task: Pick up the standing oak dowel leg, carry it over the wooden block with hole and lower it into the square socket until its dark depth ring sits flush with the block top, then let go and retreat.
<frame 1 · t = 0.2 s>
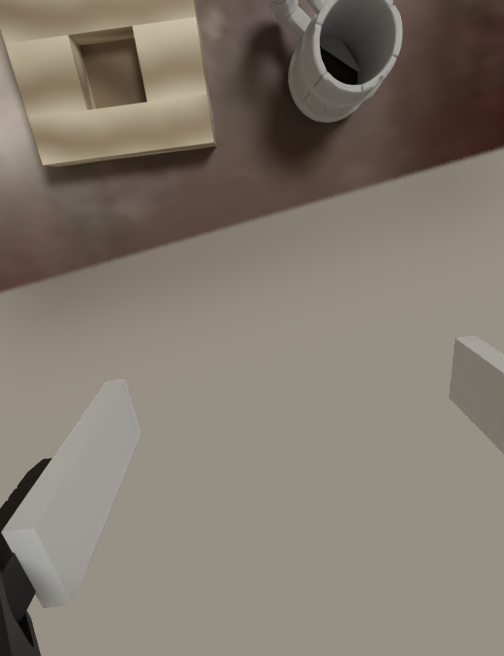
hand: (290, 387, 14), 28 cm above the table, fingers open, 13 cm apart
wooden block with hole: (121, 80, 33), on the table
mug: (311, 61, 33), on the table
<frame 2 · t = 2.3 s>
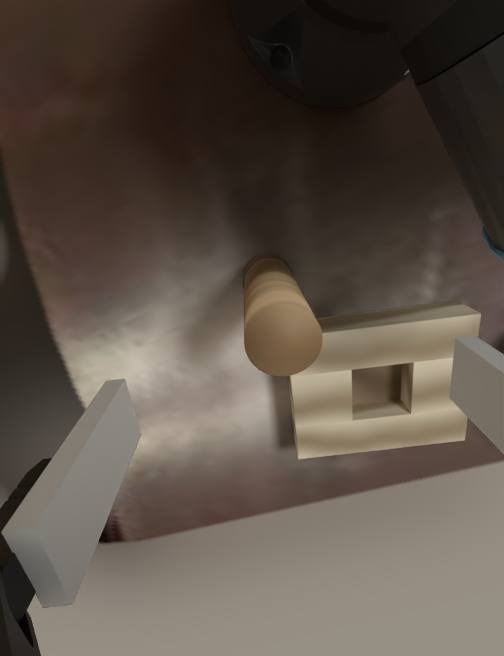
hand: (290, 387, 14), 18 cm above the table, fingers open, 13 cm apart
wooden block with hole: (369, 373, 35), on the table
leg: (266, 276, 31), on the table
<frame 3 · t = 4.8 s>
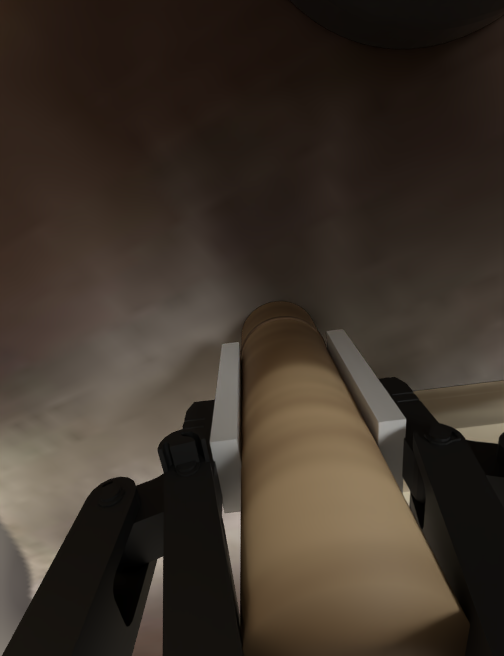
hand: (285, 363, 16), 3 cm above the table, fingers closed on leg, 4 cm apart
wooden block with hole: (432, 473, 23), on the table
leg: (278, 336, 19), on the table, touching gripper
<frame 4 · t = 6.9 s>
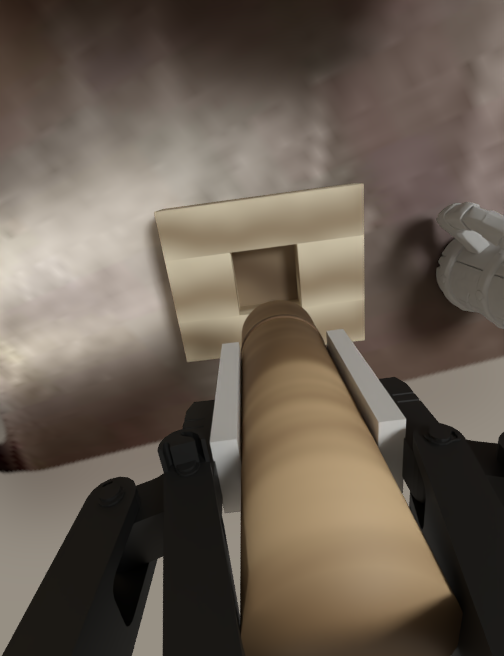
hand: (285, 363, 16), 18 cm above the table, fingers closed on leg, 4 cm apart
wooden block with hole: (264, 271, 33), on the table
mug: (460, 250, 32), on the table
leg: (278, 335, 19), point 14 cm above the table, touching gripper
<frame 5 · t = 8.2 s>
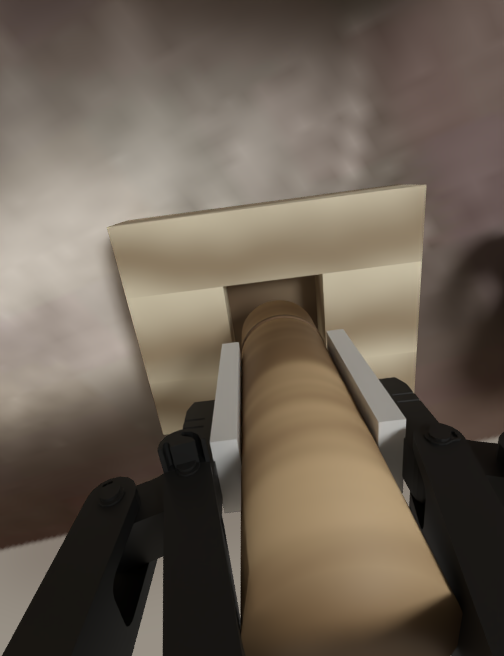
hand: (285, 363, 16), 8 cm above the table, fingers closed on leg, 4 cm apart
wooden block with hole: (272, 306, 23), on the table
leg: (278, 335, 19), point 4 cm above the table, touching gripper
when the fingers open (5 cm above the table, at t = 9.3 s): leg stays where it is, resting on wooden block with hole.
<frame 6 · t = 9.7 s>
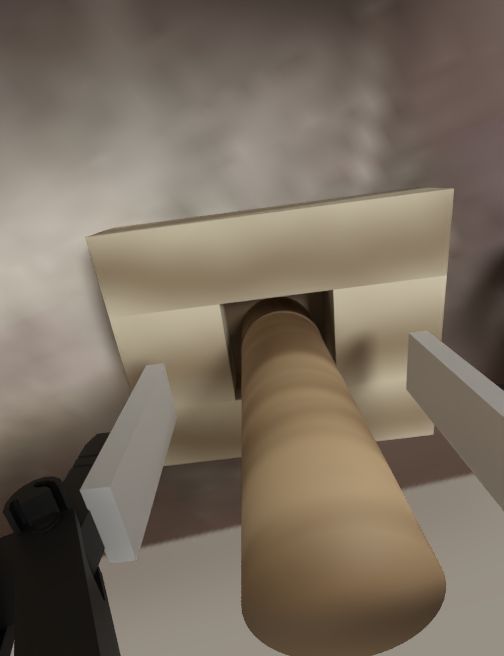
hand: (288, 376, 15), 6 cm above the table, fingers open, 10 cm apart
wooden block with hole: (275, 323, 21), on the table
leg: (277, 330, 20), point 1 cm above the table, touching wooden block with hole
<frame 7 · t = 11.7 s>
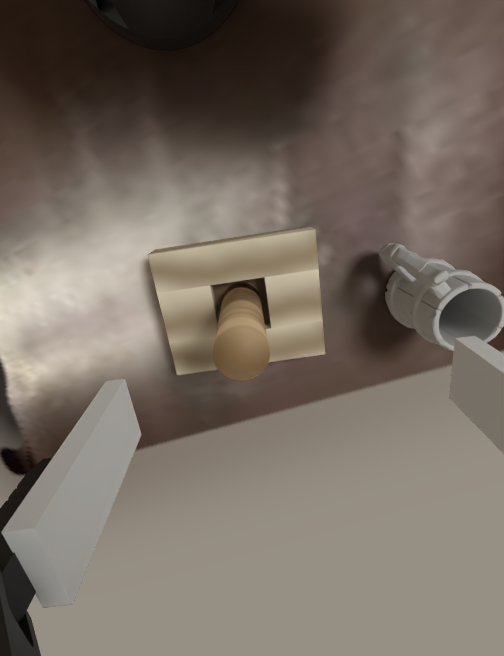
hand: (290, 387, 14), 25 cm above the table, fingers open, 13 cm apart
wooden block with hole: (241, 297, 39), on the table
mug: (404, 277, 39), on the table
leg: (241, 300, 38), point 1 cm above the table, touching wooden block with hole
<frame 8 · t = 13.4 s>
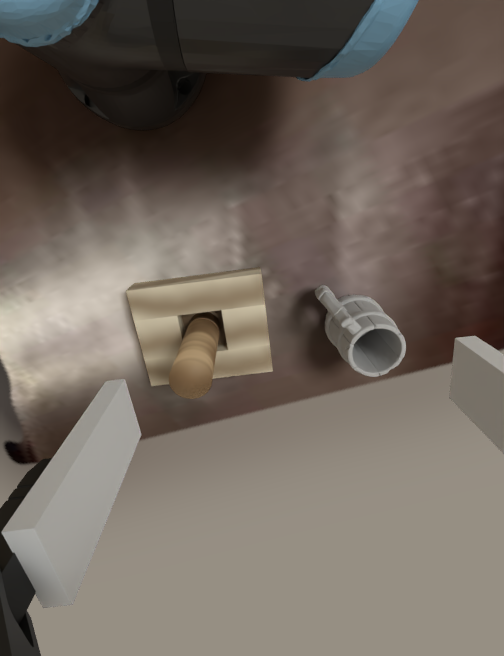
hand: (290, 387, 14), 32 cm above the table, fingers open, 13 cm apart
wooden block with hole: (205, 323, 47), on the table
mug: (340, 308, 47), on the table
leg: (205, 326, 46), point 1 cm above the table, touching wooden block with hole
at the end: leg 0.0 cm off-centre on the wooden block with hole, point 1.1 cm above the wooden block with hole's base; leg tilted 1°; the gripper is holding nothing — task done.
